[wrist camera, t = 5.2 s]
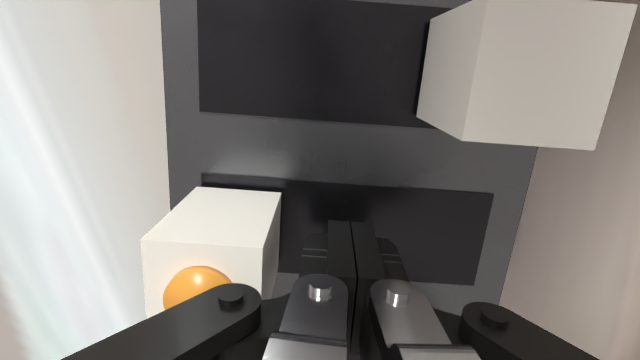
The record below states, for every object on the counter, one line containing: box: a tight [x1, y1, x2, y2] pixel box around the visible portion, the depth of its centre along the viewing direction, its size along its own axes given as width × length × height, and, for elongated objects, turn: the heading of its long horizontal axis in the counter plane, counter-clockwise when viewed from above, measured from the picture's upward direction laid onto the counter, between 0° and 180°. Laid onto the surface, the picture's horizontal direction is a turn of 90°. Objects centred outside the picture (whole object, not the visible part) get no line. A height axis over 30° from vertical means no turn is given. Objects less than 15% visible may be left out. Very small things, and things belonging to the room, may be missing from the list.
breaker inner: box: [416, 0, 638, 151], centre depth 10 cm, size 3×3×4 cm
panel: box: [160, 0, 538, 360], centre depth 15 cm, size 24×13×2 cm, turn 176°
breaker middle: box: [140, 187, 281, 319], centre depth 11 cm, size 3×3×4 cm
